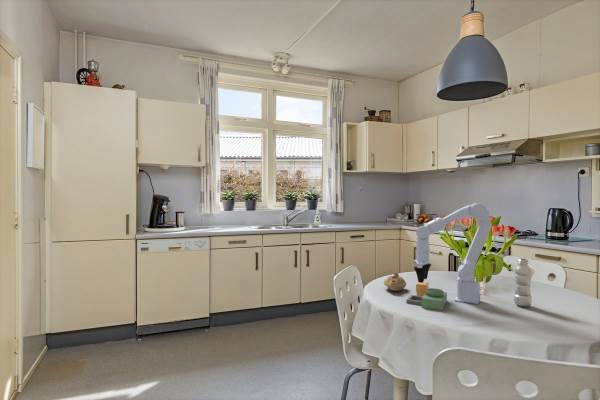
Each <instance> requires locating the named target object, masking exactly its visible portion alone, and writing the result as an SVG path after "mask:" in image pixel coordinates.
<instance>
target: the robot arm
mask: <svg viewBox="0 0 600 400" xmlns="http://www.w3.org/2000/svg"><path fill="white" fill-rule="evenodd" d="M471 216H472V218H474V219H475V221H476V223H477V225H478V227H477V229H476V232H475V234H474V237H473V238H472V241H471V243H470V246H469V248H468V250H467V253H466V256H465V257H464V259H463V261H462V263H461V264H460V265H459V266H458V267H457V274H458V277H457V278H456V297H455V298H454V301H455V302H461V303H467V304H475V305H476V304H477V305H478V304H480V300H481V294H480V293H481V292H480V291H481V289H480V287H481V286H480V281H475V279H474V278H475V269H476V266H477V262H478V259H479V257H480V255H481V253H482V250H483V247H484V245H485V244H486V243H485V242H486V241H487V238H488V236H489V234H490V231H491V228H492V226H493V225H492V220H491V216H490V212H489V210H488V209H487V207H486V206H485V205H484V204H483V203H479V202H474V203H472V204H468V205H466V206H464V207H461V208H459V209H457V210H455V211H453V212H451V213H450V214H448V215H446V216H444V217H433V218H432V220H430V221H428V222H424V223H423V225H420V226H419V227H418V228H417V230H416V236H417V237H416V242H415V243H416V248H415V249H416V250H415V251H416V256H415V257H416V259H414V260H413V262H414V263H416V265H415V266H414V267H413V269H414V271H415V273H416V278H417V283H418V282H421V283H425V280H427V279H428V277H429V276H428V275H429V271H430V268H431V267H432V263H430V262H431V261H430V235H434V234H436V233H438V232H440V231H442V230H444V229H445V228H446V226H447V225H448V224H450V223H453V222H454V221H457V220H458V219H461V218H464V217H469V218H471Z"/></svg>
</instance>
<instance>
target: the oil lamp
mask: <svg viewBox="0 0 600 400" xmlns="http://www.w3.org/2000/svg"><path fill="white" fill-rule="evenodd" d="M383 285H384V286H386V287H387V288H388V290H390V291H393V292H400V291H401V290H403V289H404V288H406V287H407V282H406V281H405V279H404V278H403V277H402V276H400V274H399V271H395V272H394V273H393V275H391V276H388V277H387V278H386V279H384V281H383Z"/></svg>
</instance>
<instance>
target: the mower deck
mask: <svg viewBox="0 0 600 400" xmlns="http://www.w3.org/2000/svg"><path fill="white" fill-rule="evenodd" d="M447 302H448V293H447V292H445V291H444V290H443V289H439V288H432V287H431V288H430V287H429V289H426V293H425V294H424V296H417V294H416V295H414V294H410V295H409V297H408V298H406V301H405V303H406V304H411V305H416V306H421V308H422V309H423V308H424V309H430V310H431V309H432V310H437V311H443V309H444V307H445V306H446V304H447Z"/></svg>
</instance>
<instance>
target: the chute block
mask: <svg viewBox="0 0 600 400" xmlns="http://www.w3.org/2000/svg"><path fill="white" fill-rule="evenodd" d="M429 285H430V283H429V282H423V283H421V282H418V281H417V283H416V285H415V286H416V287H415V291H416V296H424V294H425V293H426V289H429V288H430V286H429Z"/></svg>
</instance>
